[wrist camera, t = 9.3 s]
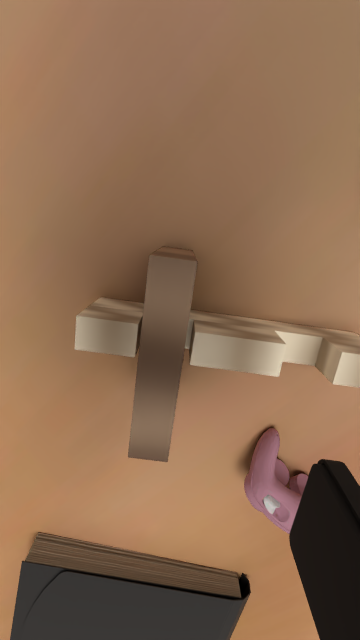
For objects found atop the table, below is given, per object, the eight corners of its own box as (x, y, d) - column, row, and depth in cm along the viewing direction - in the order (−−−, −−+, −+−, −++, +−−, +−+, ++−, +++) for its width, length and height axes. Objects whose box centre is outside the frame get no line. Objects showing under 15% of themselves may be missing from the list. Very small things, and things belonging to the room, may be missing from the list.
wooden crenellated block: (98, 324, 26) (74, 349, 21) (100, 297, 26) (76, 315, 20) (346, 357, 27) (389, 391, 21) (354, 332, 26) (401, 360, 21)
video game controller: (241, 438, 31) (233, 512, 26) (271, 421, 28) (268, 500, 23) (316, 481, 33) (323, 559, 27) (352, 469, 30) (367, 554, 25)
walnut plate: (163, 246, 25) (149, 254, 15) (192, 250, 25) (197, 261, 15) (147, 380, 28) (127, 457, 18) (173, 383, 28) (167, 462, 18)
